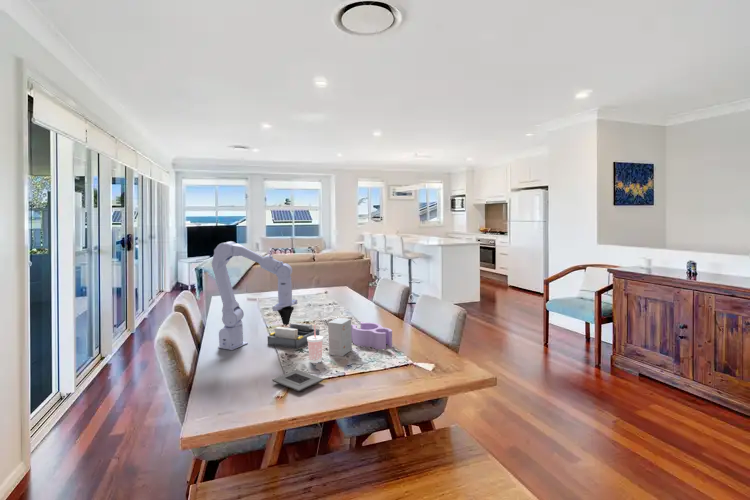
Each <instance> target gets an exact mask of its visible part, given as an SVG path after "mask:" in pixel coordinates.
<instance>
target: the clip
mask: <svg viewBox="0 0 750 500" xmlns="http://www.w3.org/2000/svg"><path fill="white" fill-rule="evenodd" d="M359 325H360V328H358V325H357V324H351V338H352V345H353V344H354V345H355V346H358V347H368V346H370V347H371V348H372V349H374V348H375V350H378V349H387V346H388V345H389V346H388V348H393V329H391V328H388V327H383V326H382V325H381V324H380V323H376V322H364V321H360V323H359ZM386 344H387V345H386ZM370 347H369V348H370Z"/></svg>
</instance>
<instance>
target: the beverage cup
mask: <svg viewBox="0 0 750 500" xmlns="http://www.w3.org/2000/svg"><path fill="white" fill-rule="evenodd" d="M313 329H314V335H313V336H309V337H307V341H308V343H307V345H308V346H307V347H308V358H309V359H308V360H309V363H312V364H317V363H318V362H319V363H321V362H322V359H323V340H324V336H323V335H320V334H319V335H316V330H315V329H316V324H313Z"/></svg>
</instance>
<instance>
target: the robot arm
mask: <svg viewBox="0 0 750 500" xmlns="http://www.w3.org/2000/svg"><path fill="white" fill-rule="evenodd" d="M212 256H213V257H212V259H211V260H212V261H211V267H212V270H213V274H214V279H215V281H216V284H217V288H218V291H219V295H220V296H219V297H220V298H221V303H222V308H221V312H222V318H221V320H222V321H221V322H222V324H223V325H224V326H223V327H222V328H221V329H220V330H219V331H218V343H219V346H217V348H219V349H224V350H230V351H233V350H236V349H237V348H240V347H243V346H245V345H248V342H247V341H244V331H243V330H244V328H243V322H242V319H243V318H244V311H243V309H242V308H241V307H240V305H239V303H238V301H237V299H236V297H235V292H234V290H233V287H232V282H231V280H230V275H229V272H228V268H227V264H228V262H229V261H230V260H231V259H232V258H233V257H241V256H242V257H243V258H246V259H247V260H250V261H252V262H255V263H256V264H257V263H258V264H259V266H260V268H261V269H263V270H265V271H267V272H269V273H272V274H273V275H276V277H277V298H278V299H277V301H278V302H277V303H276V304H274V305H273V306H272V312H278V315H279V316H280V319H281V322H282V324H283V325H285V326H288V325H289V324H290V320H291V315H292V313H293V312H294V310H295V307H294V306H295V305H298V299H293V284H292V283H293V282H292V274H293V267H292V266H291V265H290V264H289V263H288V262H287V263H284V261H282V260H281V261H280V260H279V259H278V260H277V259H275V258H274V256H273V255H265V256H263V255H260V254H259V253H257V252H256V251H253V250H252V249H250V248H248V247H246V246H244V245H242V244H240V243H236V242H235V241H232V240H230V241H229V240H228V241H226V242H221V243H219V244H217V246H216V247H215V248H214V249H213V255H212Z"/></svg>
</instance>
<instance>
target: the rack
mask: <svg viewBox="0 0 750 500" xmlns="http://www.w3.org/2000/svg"><path fill="white" fill-rule="evenodd" d="M289 324H290V325H289V327H287V328H293V329H298V338H297V340H295V339H288V338H281V337H275V331H274V332H271V333H270V334H269V335H268V336H267V345H268V346H274V347H275V346H276V347H282V348H288V349H289V348H290V349H295V350H298V349H300V348H302V347H303V346H305V345H308V341H307V337H309V336H313V335H314V328H313V325H312V324H311V323H310V324H308V323H303V322H294V321H293V322H291V323H289ZM315 330H316V335H319V336H320V329H318V328H315Z"/></svg>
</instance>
